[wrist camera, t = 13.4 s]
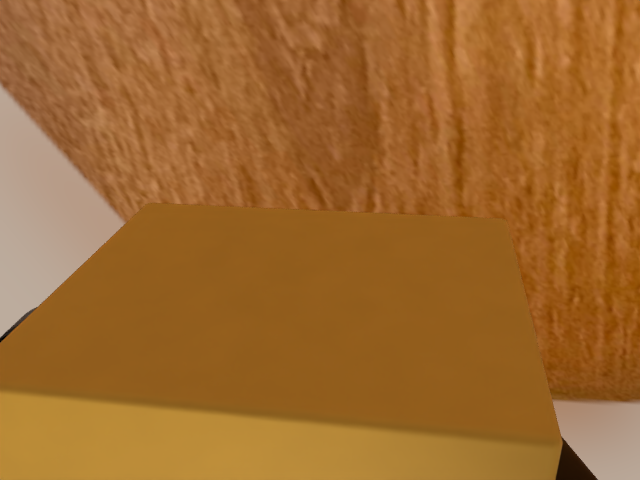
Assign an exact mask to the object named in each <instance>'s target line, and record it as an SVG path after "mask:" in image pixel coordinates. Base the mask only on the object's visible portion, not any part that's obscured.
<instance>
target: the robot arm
mask: <svg viewBox="0 0 640 480" xmlns="http://www.w3.org/2000/svg"><path fill="white" fill-rule="evenodd" d="M3 340H4V339H0V342H1V341H3ZM561 438H562V437H561ZM562 442H563V445H562V450H561V454H560V459H559V464H558V469H557V474H556V479H555V480H598V479H597V478H596V477H595V476H594V475H593V473H592V472H591V471H590V470H589V469H588V468H587V466H586V465H585V464H584V463H583V462H582V460H581V459H580V458H579V457H578V456H577V454H575V452H574V451H573V450H572V449H571V448H570V446H569V445H568V444H567V443H566V441H565V440H564V439H563V438H562Z"/></svg>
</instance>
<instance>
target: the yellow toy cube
mask: <svg viewBox="0 0 640 480" xmlns="http://www.w3.org/2000/svg"><path fill="white" fill-rule="evenodd" d="M562 445H563V442H562V438H561V434H560V430H559V426H558V422H557V418H556V414H555V410H554V406H553V402H552V398H551V394H550V390H549V386H548V382H547V378H546V374H545V370H544V366H543V362H542V358H541V354H540V350H539V346H538V342H537V338H536V334H535V330H534V326H533V322H532V318H531V314H530V310H529V306H528V302H527V298H526V294H525V290H524V286H523V282H522V278H521V274H520V270H519V266H518V262H517V258H516V254H515V250H514V246H513V242H512V238H511V234H510V230H509V226H508V223H507V220H505V219H502V218H480V217H457V216H435V215H412V214H390V213H367V212H345V211H322V210H300V209H277V208H255V207H232V206H209V205H187V204H164V203H148V204H146V205H145V206H144V207H143V208H141V209H140V210H139V211H138V212H137V213H136V214H135V215H134V216H133V217H132V218H131V219H130V220H129V221H128V222H127V223H126V224H125V225H124V226H123V227H121V228H120V229H119V230H118V231H117V232H116V233H115V234H114V235H113V236H112V237H111V238H110V239H109V240H108V241H107V242H106V243H105V244H104V245H103V246H101V247H100V248H99V249H98V250H97V251H96V252H95V253H94V254H93V255H92V256H91V257H90V258H89V259H88V260H87V261H86V262H85V263H84V264H83V265H82V266H80V267H79V268H78V269H77V270H76V271H75V272H74V273H73V274H72V275H71V276H70V277H69V278H68V279H67V280H66V281H65V282H64V283H63V284H61V285H60V286H59V287H58V288H57V289H56V290H55V291H54V292H53V293H52V294H51V295H50V296H49V297H48V298H47V299H46V300H45V301H44V302H43V303H42V304H40V305H39V306H38V307H37V308H36V309H35V310H34V311H33V312H32V313H31V314H30V315H29V316H28V317H27V318H26V319H25V320H24V321H23V322H21V323H20V324H19V325H18V326H17V327H16V328H15V329H14V330H13V331H12V332H11V333H10V334H9V335H8V336H7V337H6V338H5V339H4V340H3V341H1V342H0V480H555V479H556V474H557V469H558V464H559V459H560V454H561V450H562Z"/></svg>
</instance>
